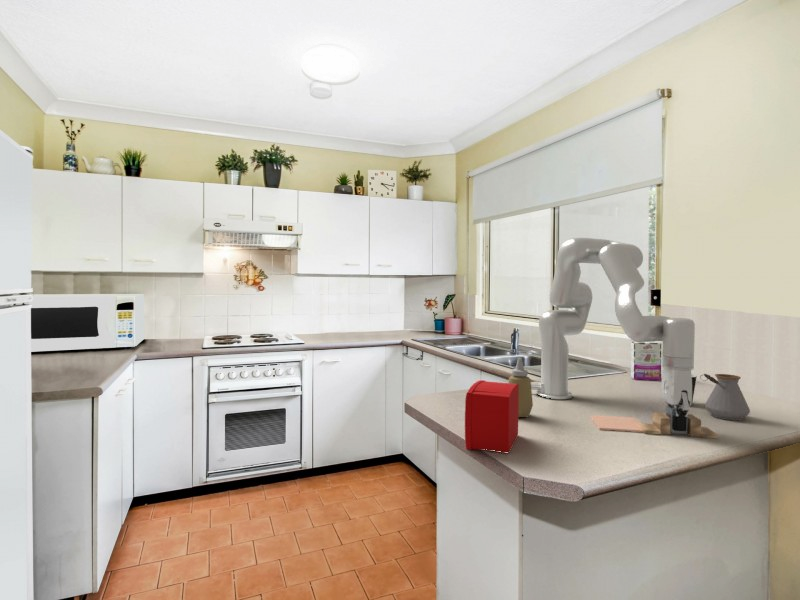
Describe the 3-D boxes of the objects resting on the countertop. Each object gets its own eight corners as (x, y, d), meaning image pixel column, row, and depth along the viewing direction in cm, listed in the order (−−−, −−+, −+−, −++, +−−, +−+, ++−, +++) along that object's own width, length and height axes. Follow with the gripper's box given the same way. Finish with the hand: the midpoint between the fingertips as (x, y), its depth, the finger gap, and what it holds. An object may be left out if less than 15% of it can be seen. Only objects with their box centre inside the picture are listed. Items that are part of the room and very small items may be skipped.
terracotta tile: (599, 429, 130) (599, 427, 130) (590, 417, 143) (590, 415, 143) (649, 433, 127) (649, 430, 127) (635, 419, 140) (635, 417, 140)
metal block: (670, 434, 127) (671, 408, 126) (665, 429, 131) (666, 405, 130) (687, 435, 126) (687, 409, 126) (681, 430, 130) (681, 405, 129)
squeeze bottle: (533, 413, 146) (534, 357, 145) (531, 420, 138) (532, 361, 138) (507, 411, 149) (508, 355, 148) (504, 418, 141) (505, 359, 140)
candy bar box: (656, 378, 203) (657, 341, 202) (661, 381, 198) (662, 342, 198) (629, 377, 205) (630, 340, 204) (633, 379, 200) (634, 342, 199)
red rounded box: (479, 430, 129) (479, 377, 129) (518, 435, 125) (519, 380, 125) (464, 449, 114) (464, 389, 114) (508, 455, 110) (509, 393, 110)
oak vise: (644, 433, 127) (645, 417, 126) (637, 426, 133) (637, 410, 133) (718, 438, 123) (718, 421, 123) (706, 430, 130) (706, 414, 130)
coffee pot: (714, 409, 152) (716, 364, 151) (756, 418, 142) (757, 370, 142) (681, 419, 140) (683, 370, 140) (724, 429, 131) (726, 377, 130)
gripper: (652, 357, 137) (651, 418, 137) (674, 367, 120) (672, 436, 121) (680, 358, 135) (679, 420, 136) (706, 368, 119) (704, 438, 119)
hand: (676, 427), depth 128 cm, fingers closed on metal block, 4 cm apart
